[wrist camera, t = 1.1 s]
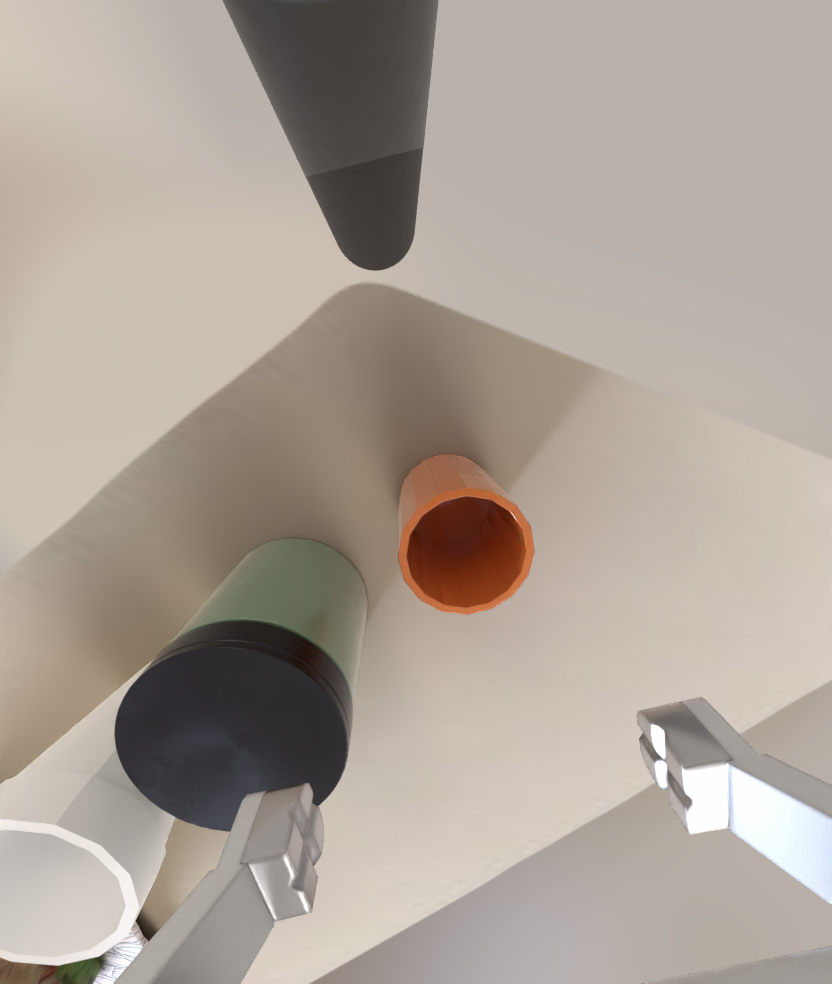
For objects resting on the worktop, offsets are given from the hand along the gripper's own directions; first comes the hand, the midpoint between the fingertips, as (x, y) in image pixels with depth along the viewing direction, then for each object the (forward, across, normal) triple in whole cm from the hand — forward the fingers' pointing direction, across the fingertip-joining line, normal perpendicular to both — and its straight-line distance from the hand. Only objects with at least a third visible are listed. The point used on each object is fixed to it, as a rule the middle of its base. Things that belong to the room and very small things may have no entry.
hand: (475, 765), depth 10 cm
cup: (+19, -2, -1) cm, 19 cm away
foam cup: (+20, +21, +9) cm, 30 cm away
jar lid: (+8, +10, +4) cm, 14 cm away
